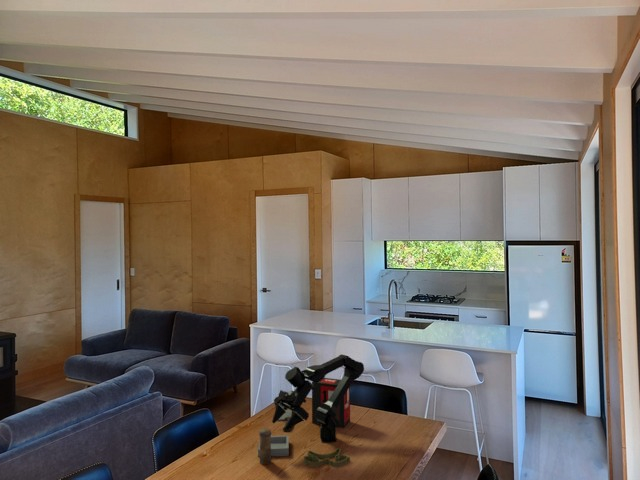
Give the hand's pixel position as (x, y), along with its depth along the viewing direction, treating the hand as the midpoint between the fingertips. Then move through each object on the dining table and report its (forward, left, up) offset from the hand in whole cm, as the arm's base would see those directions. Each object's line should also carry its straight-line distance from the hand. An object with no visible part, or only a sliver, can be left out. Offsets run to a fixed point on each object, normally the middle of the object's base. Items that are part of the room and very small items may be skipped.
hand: (279, 426), depth 182 cm
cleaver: (-2, -40, -13) cm, 42 cm away
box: (+2, -7, -13) cm, 15 cm away
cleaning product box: (-25, -34, -13) cm, 44 cm away
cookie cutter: (-19, +4, -13) cm, 24 cm away
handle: (+5, +4, -13) cm, 14 cm away
